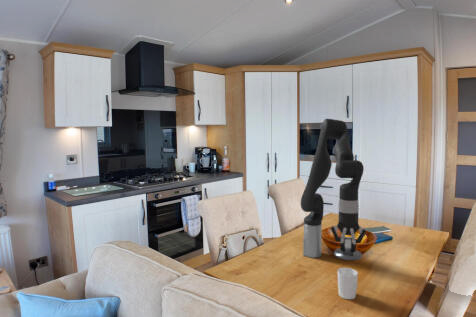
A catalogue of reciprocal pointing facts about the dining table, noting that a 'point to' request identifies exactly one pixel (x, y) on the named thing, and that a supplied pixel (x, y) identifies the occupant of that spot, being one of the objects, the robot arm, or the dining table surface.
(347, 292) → the white cup
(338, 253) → the lid
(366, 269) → the dining table surface
